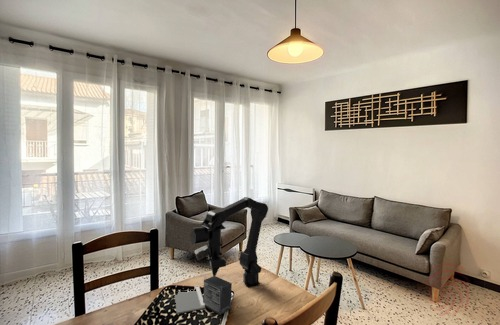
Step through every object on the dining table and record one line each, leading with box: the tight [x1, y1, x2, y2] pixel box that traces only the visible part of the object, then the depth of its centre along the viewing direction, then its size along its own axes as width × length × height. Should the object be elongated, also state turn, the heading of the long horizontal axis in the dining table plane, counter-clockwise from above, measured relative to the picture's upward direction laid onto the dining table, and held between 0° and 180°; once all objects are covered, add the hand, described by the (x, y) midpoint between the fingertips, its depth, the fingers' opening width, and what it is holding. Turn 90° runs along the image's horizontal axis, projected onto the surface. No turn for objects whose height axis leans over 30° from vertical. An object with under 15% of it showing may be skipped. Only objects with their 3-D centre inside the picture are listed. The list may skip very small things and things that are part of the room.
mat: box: [174, 286, 206, 315], centre depth 111 cm, size 11×16×2 cm
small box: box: [202, 275, 232, 316], centre depth 106 cm, size 11×6×10 cm, turn 51°
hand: (214, 275), depth 114 cm, fingers closed
